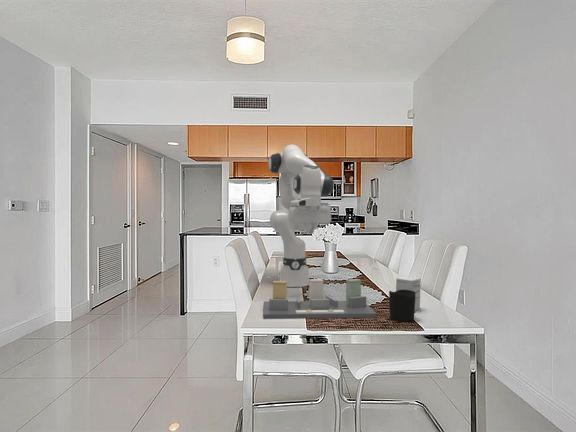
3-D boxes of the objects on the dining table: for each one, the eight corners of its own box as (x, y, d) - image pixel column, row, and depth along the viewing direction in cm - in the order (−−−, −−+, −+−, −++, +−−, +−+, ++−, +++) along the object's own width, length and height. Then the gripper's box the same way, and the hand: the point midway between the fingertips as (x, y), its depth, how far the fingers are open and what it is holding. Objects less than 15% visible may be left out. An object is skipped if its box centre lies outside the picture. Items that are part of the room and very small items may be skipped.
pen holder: (415, 323, 155) (415, 295, 154) (388, 321, 157) (388, 293, 157) (415, 316, 164) (415, 290, 164) (389, 314, 166) (389, 288, 166)
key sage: (345, 304, 175) (345, 279, 174) (356, 303, 177) (356, 278, 176) (350, 306, 172) (350, 281, 171) (361, 304, 174) (361, 280, 174)
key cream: (308, 303, 175) (308, 279, 175) (321, 303, 176) (321, 279, 176) (310, 305, 172) (310, 280, 172) (323, 305, 173) (323, 280, 172)
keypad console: (263, 305, 181) (263, 291, 180) (363, 304, 183) (363, 291, 183) (263, 318, 160) (263, 303, 159) (376, 317, 162) (376, 302, 162)
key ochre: (273, 305, 172) (273, 280, 171) (286, 306, 171) (287, 281, 171) (272, 307, 168) (272, 282, 168) (285, 308, 168) (286, 282, 167)
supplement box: (395, 309, 175) (395, 278, 174) (403, 306, 180) (404, 275, 180) (412, 312, 170) (412, 280, 169) (420, 309, 175) (421, 277, 175)
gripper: (326, 202, 198) (325, 233, 198) (286, 201, 188) (286, 233, 189) (334, 202, 192) (333, 234, 193) (293, 201, 183) (292, 234, 183)
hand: (309, 233), depth 191 cm, fingers closed
